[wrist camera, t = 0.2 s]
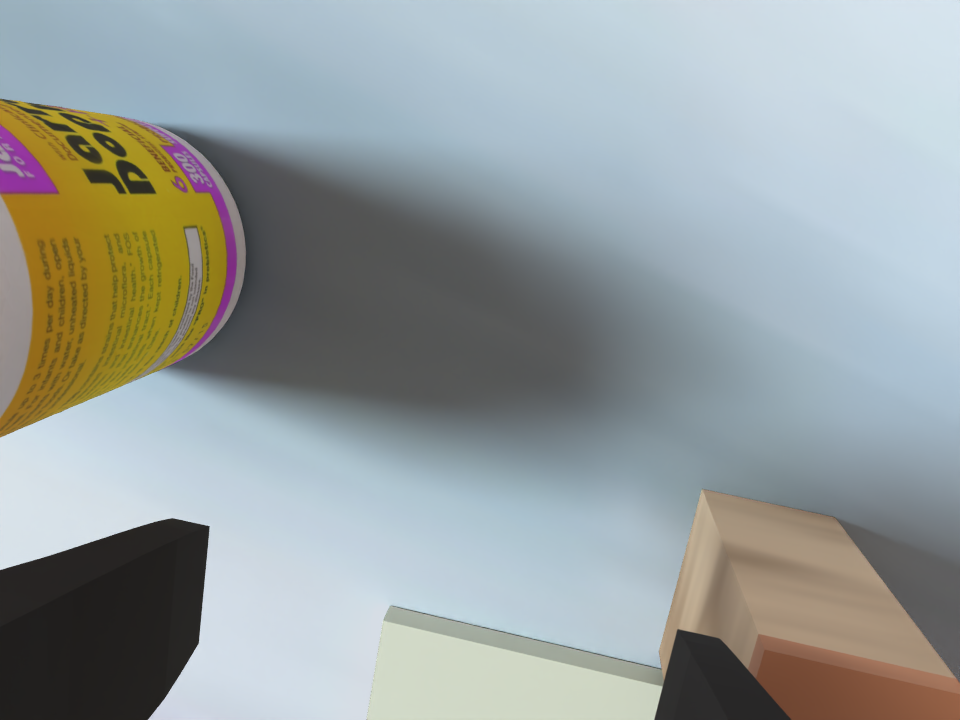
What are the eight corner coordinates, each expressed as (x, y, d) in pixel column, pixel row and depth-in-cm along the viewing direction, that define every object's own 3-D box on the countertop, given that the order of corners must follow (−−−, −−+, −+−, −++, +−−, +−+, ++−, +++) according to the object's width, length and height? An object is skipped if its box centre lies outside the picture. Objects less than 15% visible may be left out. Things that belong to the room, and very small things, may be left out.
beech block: (783, 680, 22) (883, 925, 15) (658, 651, 22) (695, 878, 15) (834, 517, 21) (969, 696, 14) (702, 489, 21) (764, 649, 14)
